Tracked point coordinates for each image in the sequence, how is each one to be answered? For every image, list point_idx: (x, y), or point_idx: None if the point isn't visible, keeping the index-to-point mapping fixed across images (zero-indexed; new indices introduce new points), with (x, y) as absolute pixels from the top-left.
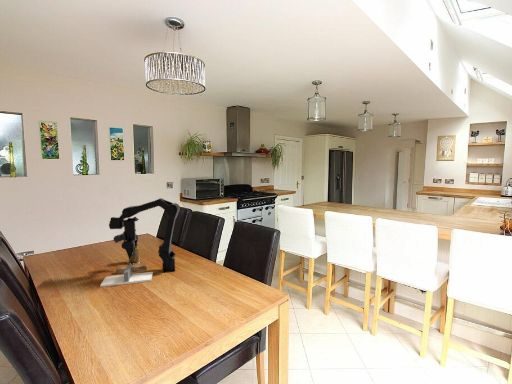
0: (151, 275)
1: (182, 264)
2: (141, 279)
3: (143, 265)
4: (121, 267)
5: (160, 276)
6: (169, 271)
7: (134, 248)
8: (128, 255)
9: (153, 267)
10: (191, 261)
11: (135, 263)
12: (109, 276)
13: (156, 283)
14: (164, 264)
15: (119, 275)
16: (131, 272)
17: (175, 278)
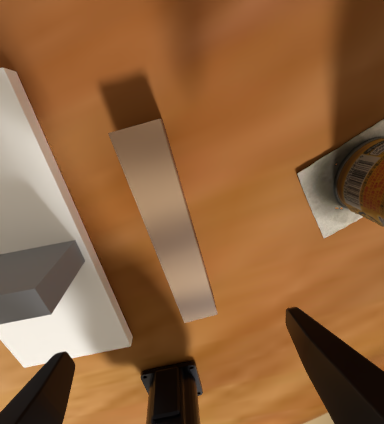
0: (77, 355)
1: (235, 399)
2: (13, 333)
3: (194, 305)
4: (166, 165)
5: (95, 371)
6: (147, 389)
7: (330, 409)
8: (16, 405)
9: (222, 316)
10: (263, 413)
11: (326, 199)
12: (14, 106)
13: (11, 379)
14: (151, 417)
15: (52, 187)
16: (79, 269)
17: (77, 414)
